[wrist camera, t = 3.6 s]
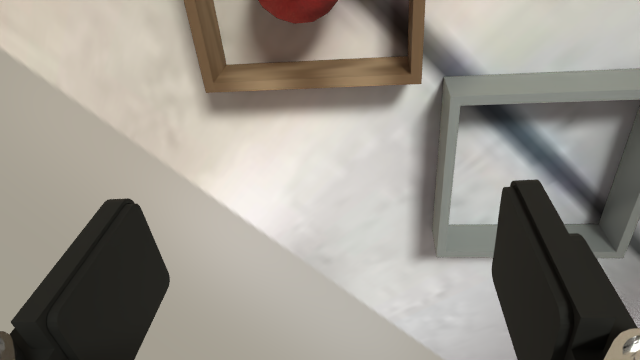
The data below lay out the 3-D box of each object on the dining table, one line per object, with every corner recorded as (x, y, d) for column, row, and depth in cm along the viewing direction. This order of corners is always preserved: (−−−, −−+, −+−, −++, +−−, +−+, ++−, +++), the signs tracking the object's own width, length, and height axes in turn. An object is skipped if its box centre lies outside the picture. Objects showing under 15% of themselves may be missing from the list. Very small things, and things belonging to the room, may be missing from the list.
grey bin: (663, 67, 32) (693, 87, 29) (604, 230, 40) (623, 258, 37) (443, 76, 33) (450, 96, 30) (432, 230, 42) (436, 257, 39)
